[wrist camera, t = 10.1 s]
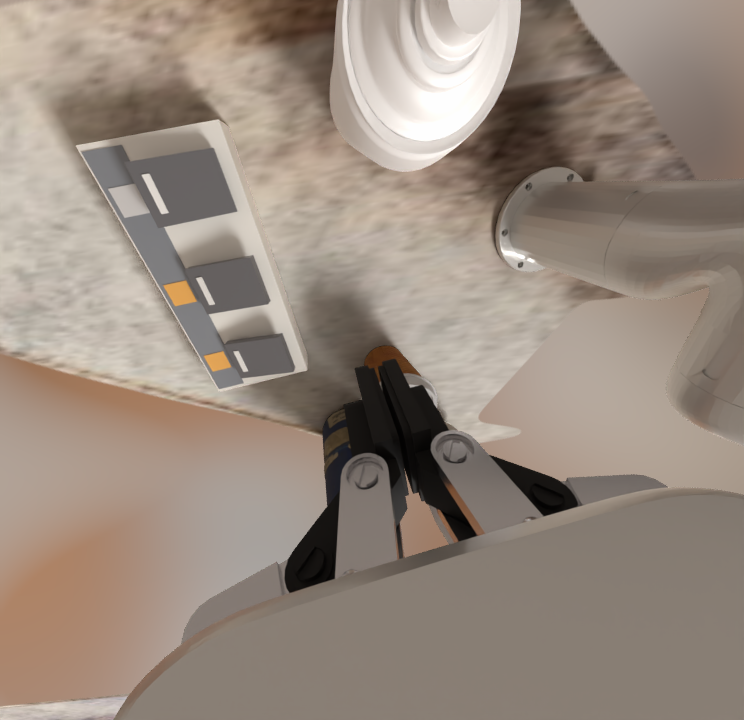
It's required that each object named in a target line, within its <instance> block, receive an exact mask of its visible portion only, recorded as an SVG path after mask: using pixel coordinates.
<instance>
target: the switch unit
mask: <svg viewBox="0 0 744 720" xmlns="http://www.w3.org/2000/svg"><path fill="white" fill-rule="evenodd" d="M75 146H76V147H77V149H78V151H79V153H80V154H81V156H82V158H83V159H84V161H85V163H86V165H87V166H88V168H89V170H90V171H91V173H92V175H93V177H94V178H95V180H96V182H97V183H98V185H99V187H100V189H101V190H102V192H103V194H104V195H105V197H106V199H107V201H108V202H109V204H110V206H111V207H112V209H113V211H114V212H115V214H116V216H117V218H118V219H119V221H120V223H121V224H122V226H123V228H124V230H125V231H126V233H127V235H128V236H129V238H130V240H131V242H132V243H133V245H134V247H135V248H136V250H137V252H138V254H139V255H140V257H141V259H142V260H143V262H144V264H145V266H146V267H147V269H148V271H149V272H150V274H151V276H152V278H153V279H154V281H155V283H156V284H157V286H158V288H159V290H160V291H161V293H162V295H163V296H164V298H165V300H166V302H167V303H168V305H169V307H170V308H171V310H172V312H173V314H174V315H175V317H176V319H177V320H178V322H179V324H180V326H181V327H182V329H183V331H184V332H185V334H186V336H187V337H188V339H189V341H190V343H191V344H192V346H193V348H194V349H195V351H196V353H197V355H198V356H199V358H200V360H201V361H202V363H203V365H204V367H205V368H206V370H207V372H208V373H209V375H210V377H211V379H212V380H213V382H214V384H215V385H216V387H217V389H218V391H219V392H222V391H226V390H230V389H234V388H238V387H242V386H246V385H250V384H254V383H258V382H262V381H266V380H271V379H275V378H279V377H283V376H287V375H291V374H295V373H299V372H303V371H307V370H308V356H307V353H306V350H305V347H304V344H303V341H302V338H301V335H300V332H299V329H298V326H297V323H296V321H295V318H294V315H293V312H292V309H291V306H290V303H289V300H288V297H287V294H286V291H285V288H284V286H283V283H282V280H281V277H280V274H279V271H278V268H277V265H276V262H275V259H274V256H273V253H272V251H271V248H270V245H269V242H268V239H267V236H266V233H265V230H264V227H263V224H262V221H261V218H260V215H259V213H258V210H257V207H256V204H255V201H254V198H253V195H252V192H251V189H250V186H249V183H248V180H247V178H246V175H245V172H244V169H243V166H242V163H241V160H240V157H239V154H238V151H237V148H236V145H235V142H234V140H233V137H232V134H231V131H230V128H229V126H227V125H226V124H224V123H223V122H222V121H220V120H219V119H218V120H212V121H207V122H201V123H196V124H190V125H185V126H179V127H174V128H168V129H163V130H157V131H152V132H146V133H141V134H136V135H130V136H125V137H119V138H114V139H108V140H103V141H97V142H92V143H86V144H81V145H75ZM208 148H214V149H215V152H216V154H217V157H218V160H219V162H220V165H221V168H222V170H223V173H224V176H225V178H226V181H227V184H228V186H229V189H230V192H231V194H232V197H233V200H234V202H235V205H236V208H237V210H238V212H233V213H229V214H224V215H219V216H214V217H210V218H205V219H200V220H195V221H191V222H186V223H181V224H176V225H172V226H167V227H162V228H158V227H157V225H156V223H155V221H154V219H153V217H152V215H151V213H150V211H149V209H148V208H147V206H146V204H145V202H144V200H143V198H142V196H141V194H140V192H139V190H138V189H137V187H136V185H135V183H134V181H133V179H132V177H131V175H130V173H129V171H128V169H127V168H126V166H125V164H124V162H129V161H135V160H141V159H147V158H153V157H159V156H165V155H171V154H177V153H183V152H189V151H196V150H202V149H208ZM251 255H253V256H254V258H255V261H256V263H257V266H258V269H259V271H260V274H261V277H262V279H263V282H264V285H265V287H266V290H267V293H268V295H269V298H270V300H271V301H270V302H269V304H267V305H261V306H255V307H249V308H243V309H237V310H232V311H226V312H220V313H214V314H208V315H207V313H206V311H205V309H204V307H203V305H202V303H201V301H200V299H199V297H198V296H197V294H196V292H195V290H194V288H193V286H192V284H191V282H190V280H189V278H188V276H187V274H186V272H185V270H184V269H186V268H188V267H191V266H196V265H202V264H207V263H213V262H218V261H223V260H229V259H234V258H240V257H245V256H251ZM279 333H283V336H284V339H285V341H286V344H287V346H288V349H289V352H290V354H291V357H292V360H293V362H294V365H295V370H294V372H290V373H282V374H274V375H266V376H258V377H249V378H241V377H240V376H239V374H238V372H237V370H236V368H235V366H234V364H233V362H232V360H231V358H230V356H229V354H228V352H227V350H226V348H225V346H224V344H225V343H226V342H227V341H229V340H237V339H244V338H251V337H258V336H265V335H272V334H279Z"/></svg>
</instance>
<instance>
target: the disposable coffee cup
mask: <svg viewBox="0 0 744 720" xmlns="http://www.w3.org/2000/svg"><path fill="white" fill-rule="evenodd" d="M394 358H395V359H396V360H397V362H398V364H399V366H400V368H401V370H402V372H403V374H404V376H405V378H406V380H407V382H408V384H409V386H410V388H411V387H415V386H419V385H423V386H424V387H425V389H426V391H427V392H428V394H429V396H430V398H431V399H432V401H433V403H434V405H435V406H436V408H437V392H436V390H435V388H434V386H433V385H432V384H431V382H429V381H428V380H427V379H425V378H423V377H422V376H421V375H420V374H419V373H418V372H417V371H416V369H415V368H414V367H413V366H412V365H411V364H410V363H409V362H408V360H407V359H406V358H405V357H404V356H403V355H402V354H401V352H400V351H399V350H398V349H396V348H395V347H392V346H380V347H377V348H375V349H373V350H372V351H371V352H370V353H369V354H368V355H367V357H366V359H365V362H364V366H366V365H368V367H369V368H373V367H374V369H375V372H376V374H377V377H378V380H379V383H380V386H381V381H380V376H379V371H378V366H381V365H382V361H386V360H390V359H394ZM381 388H382V386H381Z"/></svg>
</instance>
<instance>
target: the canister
mask: <svg viewBox="0 0 744 720" xmlns="http://www.w3.org/2000/svg"><path fill="white" fill-rule="evenodd" d="M323 449H324V463H325V466H324V472H325V480H326V494H327V506H328V505H329V504H330V502H331V501H332V500H333V498H334V497H335V496H336V494H337V493H338V492H339V491H340V484H341V474H342V469H343V468H344V466H345V464H346V463H347V462H348V461H349V460H350V459H351V458H352V454H351V448H350V441H349V435H348V429H347V423H346V416H345V410H344V409H342V410H339V411H337V412H335V413H334V414H332V415H331V416H330V417H329V418H328V419H327V421H326V422H325V424H324V427H323Z"/></svg>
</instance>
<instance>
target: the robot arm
mask: <svg viewBox="0 0 744 720" xmlns="http://www.w3.org/2000/svg"><path fill="white" fill-rule="evenodd" d="M495 239H496V247H497V250H498V253H499V255H500V257H501V259H502V260H503V261H504V262H505V263H506V265H508V266H510V267H511V268H513V269H515V270H518V271H522V272H535V271H539V270H542V269H545V268H549V269H552V270H555V271H558V272H561V273H563V274H566V275H569V276H572V277H575V278H578V279H581V280H583V281H586V282H589V283H592V284H595V285H598V286H601V287H603V288H606V289H609V290H612V291H615V292H618V293H621V294H624V295H627V296H630V297H634V298H638V299H646V300H660V299H667V298H673V297H678V296H681V295H685V294H689V293H692V292H695V291H699V290H701V289H705V288H707V287H709V295H708V298H707V300H706V302H705V304H704V307H703V309H702V310H701V314H700V316H699V318H698V320H697V322H696V324H695V326H694V327H693V329H692V331H691V333H690V335H689V336H688V338H687V340H686V342H685V344H684V346H683V348H682V350H681V351H680V353H679V355H678V357H677V359H676V361H675V363H674V365H673V367H672V369H671V371H670V374H669V376H668V379H667V384H666V393H667V397H668V399H669V402H670V404H671V405H672V406H673V407H674V409H675V410H676V411H677V412H678V413H679V414H680V415H682V416H683V417H684V418H686V419H687V420H688V421H690V422H691V423H693V424H695V425H696V426H698V427H700V428H702V429H704V430H706V431H708V432H710V433H712V434H714V435H716V436H718V437H721V438H724V439H726V440H729V441H731V442H734V443H736V444H739V445H742V446H744V179H728V180H682V181H590V182H584V181H583V179H582V178H581V177H580V176H579V175H578V174H577V173H576V172H575V171H573V170H571V169H569V168H565V167H550V168H545V169H541V170H539V171H537V172H534V173H532V174H531V175H529V176H528V177H526V178H525V179H524V180H523V181H522V182H520V183H519V184H518V185H517V186H516V187H515V189H514V190H513V191H512V192H511V194H510V195H509V196H508V198H507V200H506V201H505V203H504V205H503V207H502V209H501V211H500V214H499V217H498V221H497V224H496V233H495ZM355 371H356V375H357V380H358V384H359V388H360V392H361V396H362V400H360V401H356V402H352V403H348V404H344V410H345V416H346V423H347V429H348V435H349V441H350V448H351V454H352V458H351V459H350V460H349V461H348V462H347V463H346V464H345V466H344V468H343V469H342V474H341V484H340V491H339V492H338V493H337V494H336V496H335V497H334V498H333V500H332V501H331V502H330V504H329V505H328V506H327V508H326V509H325V510H324V512H323V513H322V514H321V516H320V517H319V518H318V519H317V521H316V522H315V523H314V525H313V526H312V527H311V528H310V530H309V531H308V532H307V534H306V535H305V536H304V538H303V539H302V540H301V542H300V543H299V544H298V545H297V547H296V548H295V549H294V551H293V552H292V554H291V556H290V557H289V559H288V560H286V561H284V562H283V563H281V564H278V563H277V562H276V563H274V564H272V565H270V566H268V567H266V568H265V569H263V570H261V571H260V572H257V573H256V574H254V575H252V576H250V577H248V578H246V579H245V580H243V581H241V582H239V583H237V584H236V585H234V586H232V587H230V588H229V589H227V590H225V591H223V592H221V593H219V594H217V595H216V596H214V597H212V598H210V599H209V600H207V601H206V602H205V603H203V604H202V605H201V606H199V608H198V609H197V610H196V611H195V613H194V614H193V615H192V616H191V618H190V620H189V622H188V624H187V626H186V627H185V630H184V634H183V638H182V643H181V645H180V646H179V647H177V648H176V649H175V650H174V651H173V652H171V653H170V654H169V655H168V656H166V657H165V658H164V659H163V660H162V661H161V662H160V663H159V664H158V665H156V666H155V667H154V668H153V669H152V670H151V671H150V672H149V673H148V674H147V675H146V676H145V677H144V678H143V679H142V680H141V682H140V683H139V684H138V685H137V686H136V687H135V688H134V690H133V691H132V692H131V693H130V695H129V696H128V697H127V699H126V700H125V702H124V703H123V705H122V707H121V708H120V710H119V711H118V713H117V714H116V716H115V718H114V720H744V495H743V494H738V493H733V492H728V491H722V490H714V489H704V488H689V487H671V488H668V487H667V486H666V485H664V484H663V483H661V482H659V481H657V480H656V479H653V478H650V477H647V476H644V475H613V476H595V477H576V478H567V480H566V481H563V482H560V481H559V480H557V479H555V478H552V477H550V476H547V475H545V474H542V473H539V472H536V471H533V470H530V469H528V468H525V467H522V466H519V465H516V464H514V463H511V462H508V461H505V460H502V459H499V458H497V457H494V456H491V455H488V453H487V452H486V451H485V450H484V449H483V448H482V447H481V446H480V444H479V443H478V442H477V441H476V440H475V439H474V438H473V437H472V436H470V435H469V434H467V433H465V432H462V431H457V430H449V429H448V427H447V425H446V424H445V422H444V420H443V418H442V417H441V415H440V413H439V411H438V410H437V408H436V406H435V405H434V403H433V401H432V399H431V398H430V396H429V394H428V392H427V391H426V389H425V387H424V386H423V385H419V386H415V387H411V388H410V386H409V384H408V382H407V380H406V378H405V376H404V374H403V372H402V370H401V368H400V366H399V364H398V362H397V360H396V359H395V358H394V359H390V360H386V361H382V365H381V366H378V371H379V376H380V381H381V386H382V388H381V386H380V383H379V380H378V377H377V374H376V372H375V369H374V367H373V368H369V367H368V365H366V366H362V367H358V368H355ZM404 468H405V470H404ZM405 471H406V474H407V477H408V480H409V483H410V486H411V489H412V492H413V493H418V492H419V495H420V498H421V501H425V502H426V504H428V505H430V506H432V507H434V508H436V510H437V513H438V515H439V517H440V519H441V520H442V522H443V524H444V526H445V527H446V529H447V531H448V533H449V535H450V536H451V538H452V540H453V542H454V543H453V544H449V545H446V546H443V547H439V548H436V549H432V550H429V551H426V552H422V553H419V554H416V555H412V556H409V557H406V558H405V557H404V550H403V541H402V533H401V525H400V521H401V519H402V517H403V516H404V514H405V512H406V510H407V504H406V498H405V496H407V495H408V494H409V493H408V487H407V481H406V476H405Z"/></svg>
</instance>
